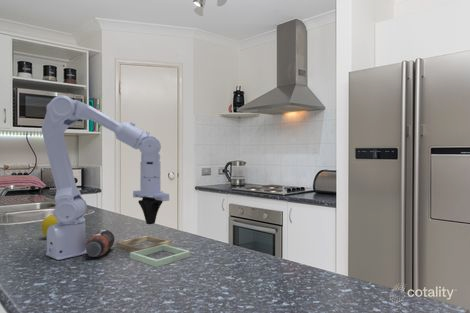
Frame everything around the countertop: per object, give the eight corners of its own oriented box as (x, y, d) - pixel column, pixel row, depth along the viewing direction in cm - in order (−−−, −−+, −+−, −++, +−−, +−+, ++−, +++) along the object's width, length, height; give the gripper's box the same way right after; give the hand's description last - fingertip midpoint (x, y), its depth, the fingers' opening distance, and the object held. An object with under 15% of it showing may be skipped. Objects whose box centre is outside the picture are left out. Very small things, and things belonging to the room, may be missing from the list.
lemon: (63, 237, 119) (63, 213, 119) (53, 241, 113) (53, 216, 113) (48, 236, 119) (48, 213, 119) (37, 240, 114) (37, 216, 114)
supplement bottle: (99, 226, 104) (87, 234, 93) (118, 233, 104) (108, 242, 93) (91, 244, 104) (78, 255, 92) (110, 252, 104) (99, 263, 93)
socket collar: (139, 254, 99) (139, 248, 99) (116, 247, 106) (116, 242, 106) (170, 245, 108) (170, 241, 108) (147, 239, 115) (147, 235, 115)
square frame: (156, 267, 87) (156, 261, 87) (129, 258, 95) (129, 252, 95) (190, 256, 96) (190, 251, 96) (163, 249, 104) (163, 244, 104)
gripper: (177, 177, 100) (177, 224, 101) (146, 175, 110) (146, 218, 110) (157, 179, 95) (157, 228, 95) (127, 176, 104) (127, 222, 104)
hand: (150, 223), depth 102 cm, fingers closed
